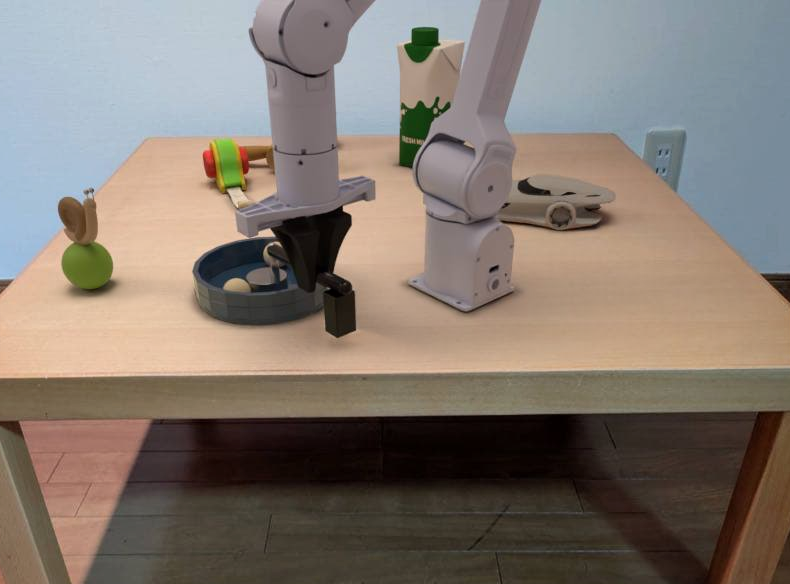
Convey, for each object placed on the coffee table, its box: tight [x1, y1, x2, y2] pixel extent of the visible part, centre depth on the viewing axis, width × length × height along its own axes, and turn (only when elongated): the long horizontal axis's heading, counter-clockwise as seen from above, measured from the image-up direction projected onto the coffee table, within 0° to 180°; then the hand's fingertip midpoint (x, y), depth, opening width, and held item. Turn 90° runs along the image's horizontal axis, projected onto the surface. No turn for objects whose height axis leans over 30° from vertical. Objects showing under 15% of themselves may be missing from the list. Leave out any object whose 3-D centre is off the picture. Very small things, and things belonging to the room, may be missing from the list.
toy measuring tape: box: [202, 137, 254, 210], centre depth 108 cm, size 6×20×7 cm, turn 20°
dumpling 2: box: [263, 242, 285, 268], centre depth 85 cm, size 3×3×3 cm
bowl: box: [191, 235, 330, 326], centre depth 81 cm, size 15×15×4 cm
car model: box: [496, 173, 617, 231], centre depth 100 cm, size 11×24×5 cm, turn 78°
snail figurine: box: [57, 187, 114, 290], centre depth 80 cm, size 5×6×12 cm
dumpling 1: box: [223, 278, 251, 293], centre depth 78 cm, size 3×3×3 cm
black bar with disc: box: [246, 242, 357, 339], centre depth 74 cm, size 17×4×6 cm, turn 40°
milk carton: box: [396, 26, 466, 168], centre depth 114 cm, size 9×9×20 cm
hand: (314, 286), depth 72 cm, fingers closed on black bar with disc
